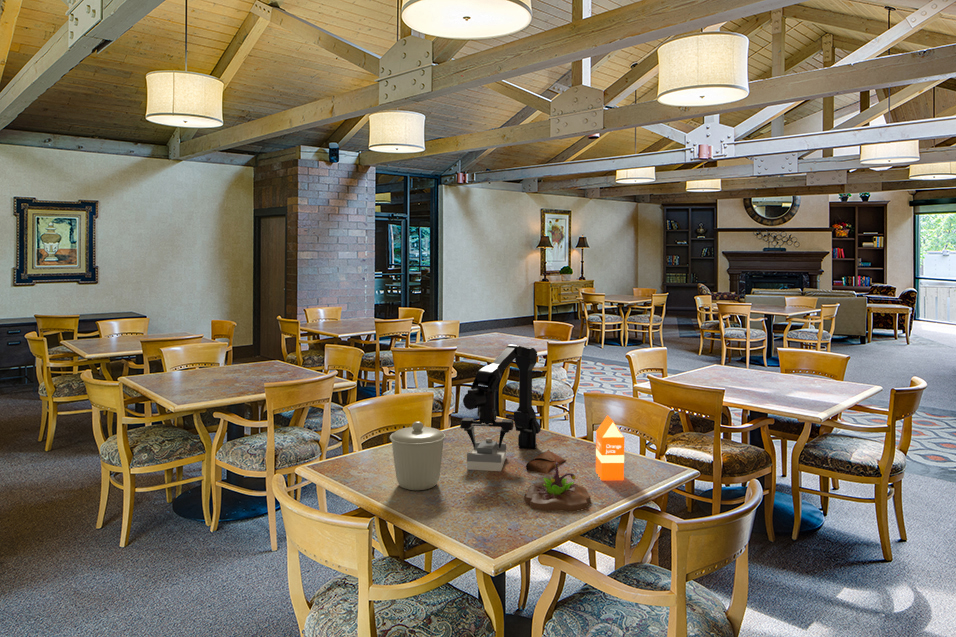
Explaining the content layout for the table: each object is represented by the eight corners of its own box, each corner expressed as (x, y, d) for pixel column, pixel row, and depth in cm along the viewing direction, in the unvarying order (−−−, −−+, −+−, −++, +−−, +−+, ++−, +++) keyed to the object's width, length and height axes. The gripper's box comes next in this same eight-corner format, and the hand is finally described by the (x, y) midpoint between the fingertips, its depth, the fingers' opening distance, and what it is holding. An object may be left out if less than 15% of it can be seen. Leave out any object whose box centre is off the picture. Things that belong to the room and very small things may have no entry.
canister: (383, 493, 198) (382, 427, 196) (398, 474, 215) (397, 414, 214) (439, 496, 195) (439, 429, 193) (450, 477, 213) (450, 416, 211)
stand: (506, 457, 235) (506, 442, 234) (500, 471, 219) (501, 455, 219) (474, 455, 237) (474, 441, 236) (466, 469, 221) (466, 454, 220)
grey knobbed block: (492, 459, 222) (492, 445, 222) (477, 458, 223) (477, 444, 223) (496, 451, 232) (497, 437, 231) (482, 450, 233) (482, 437, 233)
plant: (589, 490, 202) (589, 456, 201) (591, 514, 182) (592, 476, 181) (526, 487, 204) (526, 453, 203) (522, 510, 185) (522, 473, 184)
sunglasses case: (548, 474, 216) (539, 456, 217) (532, 481, 219) (523, 463, 220) (567, 460, 231) (559, 443, 233) (552, 467, 235) (544, 450, 236)
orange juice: (617, 471, 219) (618, 415, 217) (624, 480, 210) (625, 421, 208) (595, 471, 219) (595, 415, 217) (600, 480, 210) (601, 421, 208)
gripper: (515, 400, 232) (515, 442, 234) (465, 399, 235) (465, 440, 237) (512, 407, 221) (511, 450, 223) (460, 405, 224) (460, 448, 226)
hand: (487, 447), depth 227 cm, fingers open, 9 cm apart
